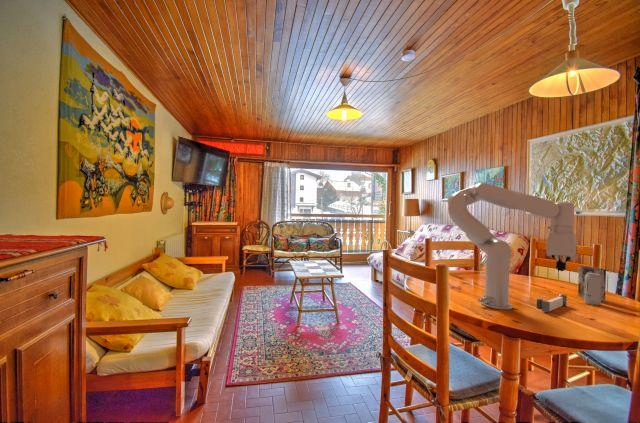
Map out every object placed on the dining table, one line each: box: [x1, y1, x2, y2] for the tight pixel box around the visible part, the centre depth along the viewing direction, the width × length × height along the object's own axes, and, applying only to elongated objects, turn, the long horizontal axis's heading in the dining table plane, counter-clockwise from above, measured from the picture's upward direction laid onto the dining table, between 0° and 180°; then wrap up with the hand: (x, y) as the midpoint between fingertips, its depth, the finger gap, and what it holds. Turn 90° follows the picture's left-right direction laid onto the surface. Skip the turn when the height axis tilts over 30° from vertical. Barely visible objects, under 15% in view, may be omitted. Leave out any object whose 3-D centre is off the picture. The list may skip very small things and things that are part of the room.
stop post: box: [536, 298, 544, 310], centre depth 132 cm, size 2×2×4 cm
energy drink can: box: [583, 272, 602, 306], centre depth 140 cm, size 6×6×15 cm
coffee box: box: [577, 266, 607, 302], centre depth 148 cm, size 9×6×16 cm
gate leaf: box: [541, 296, 564, 313], centre depth 130 cm, size 2×18×4 cm, turn 122°
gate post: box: [557, 293, 568, 307], centre depth 136 cm, size 3×3×5 cm
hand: (560, 270), depth 127 cm, fingers closed
